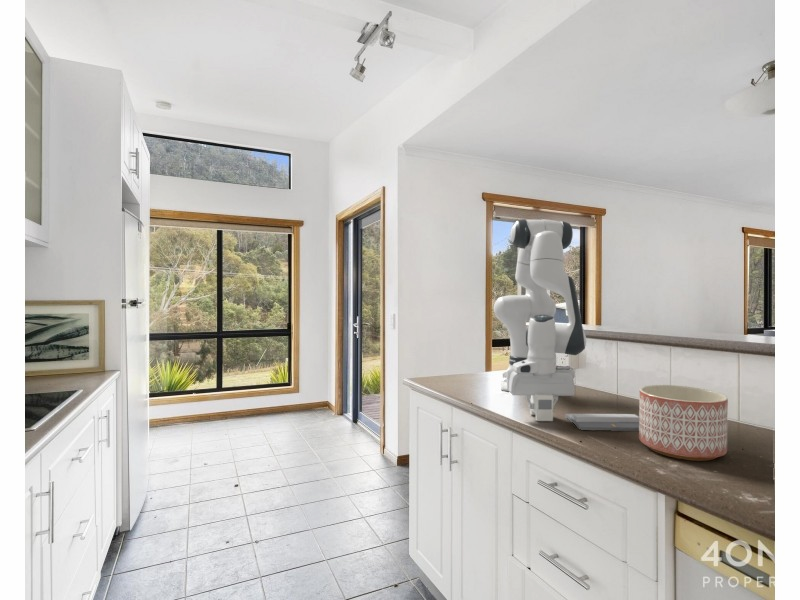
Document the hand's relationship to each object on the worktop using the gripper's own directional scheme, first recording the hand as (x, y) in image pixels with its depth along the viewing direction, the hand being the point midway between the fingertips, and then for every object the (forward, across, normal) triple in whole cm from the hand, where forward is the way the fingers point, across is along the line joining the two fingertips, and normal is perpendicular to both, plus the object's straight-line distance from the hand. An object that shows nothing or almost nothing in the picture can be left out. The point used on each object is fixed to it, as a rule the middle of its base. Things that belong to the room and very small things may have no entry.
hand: (541, 408), depth 144 cm
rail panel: (+3, -18, +5) cm, 19 cm away
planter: (+3, -28, +27) cm, 39 cm away
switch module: (+3, 0, 0) cm, 3 cm away
